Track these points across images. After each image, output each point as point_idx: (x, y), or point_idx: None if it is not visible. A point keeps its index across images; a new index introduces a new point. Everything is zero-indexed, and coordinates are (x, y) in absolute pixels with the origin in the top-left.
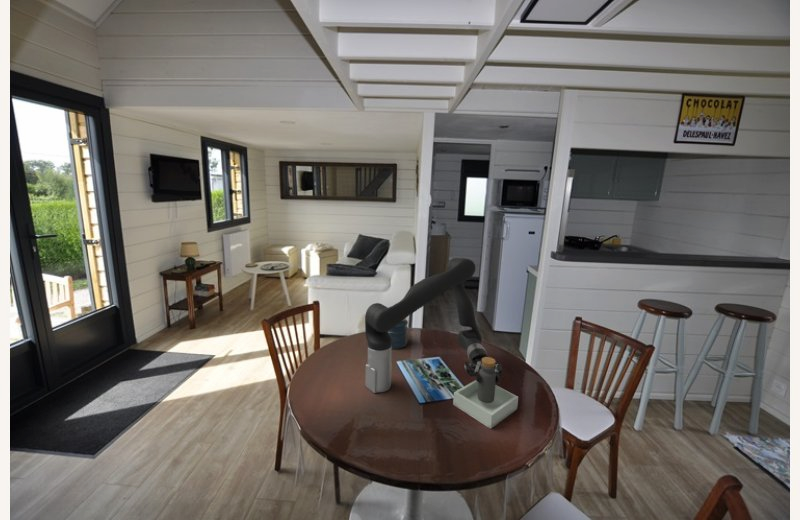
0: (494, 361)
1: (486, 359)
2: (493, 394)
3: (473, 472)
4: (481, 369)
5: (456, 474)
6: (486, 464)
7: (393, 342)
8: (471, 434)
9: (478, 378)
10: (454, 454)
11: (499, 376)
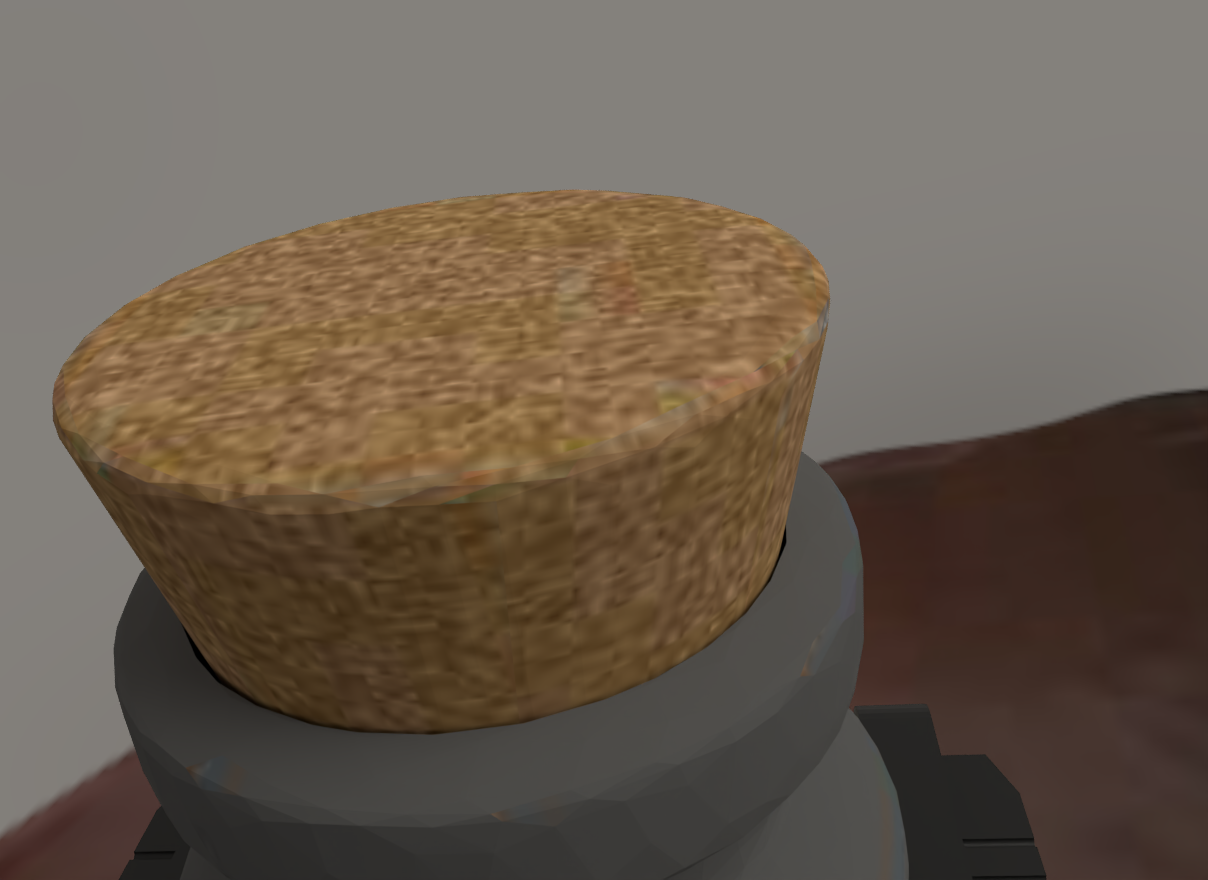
0: (216, 269)
1: (531, 321)
2: None
3: (992, 455)
4: (806, 815)
5: (1131, 436)
6: (876, 506)
7: None
8: (1018, 769)
9: (947, 764)
10: (1188, 553)
11: (156, 857)
